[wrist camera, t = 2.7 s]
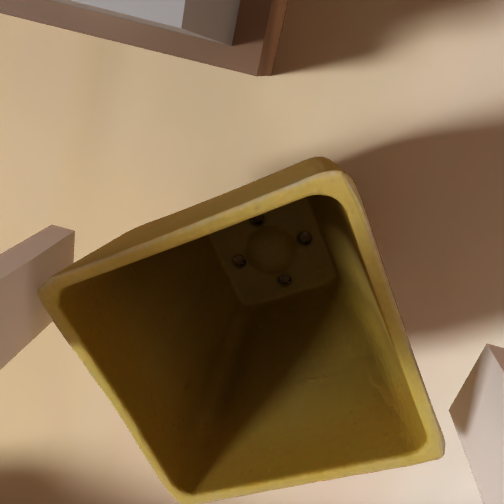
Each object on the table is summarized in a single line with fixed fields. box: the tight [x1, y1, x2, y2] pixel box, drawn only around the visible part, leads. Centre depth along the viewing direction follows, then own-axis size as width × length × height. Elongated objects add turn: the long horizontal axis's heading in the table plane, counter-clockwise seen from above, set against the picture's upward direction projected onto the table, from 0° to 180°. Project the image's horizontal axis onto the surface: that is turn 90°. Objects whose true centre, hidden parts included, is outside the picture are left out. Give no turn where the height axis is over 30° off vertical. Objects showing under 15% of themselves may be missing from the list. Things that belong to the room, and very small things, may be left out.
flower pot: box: [38, 157, 445, 504], centre depth 15 cm, size 9×9×9 cm
